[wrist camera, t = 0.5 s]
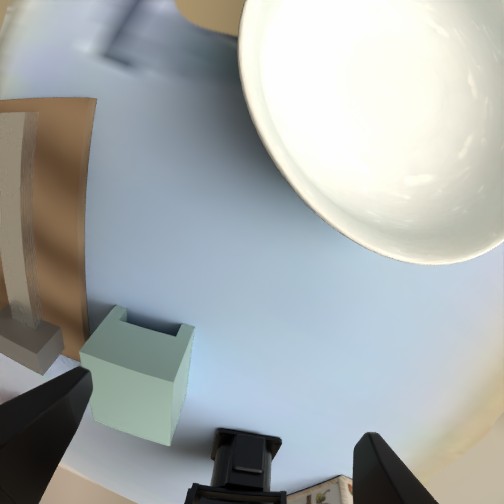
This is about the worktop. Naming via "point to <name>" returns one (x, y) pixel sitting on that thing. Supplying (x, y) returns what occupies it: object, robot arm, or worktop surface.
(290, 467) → the worktop surface
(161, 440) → the block
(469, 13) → the cereal bowl
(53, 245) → the mounting board
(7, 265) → the metal rail
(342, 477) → the decorative jar
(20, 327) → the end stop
